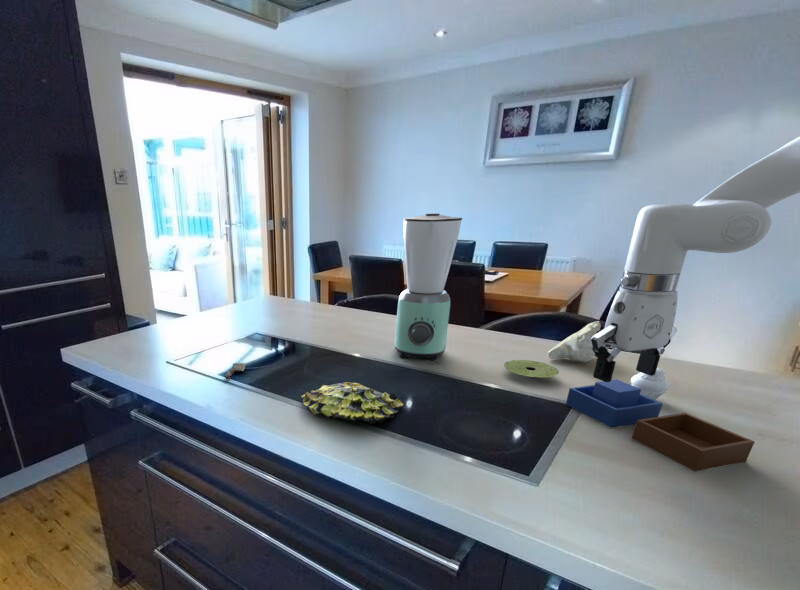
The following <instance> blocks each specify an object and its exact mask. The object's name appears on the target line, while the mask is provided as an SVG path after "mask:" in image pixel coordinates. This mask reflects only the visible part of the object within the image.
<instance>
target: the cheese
mask: <svg viewBox="0 0 800 590" xmlns="http://www.w3.org/2000/svg"><path fill="white" fill-rule="evenodd" d="M600 331H601V322H600V321H599V320H598V321H597V320H596V321H593V322H590V323H587V324H586V325H585V326H583V327H582V328H581V329H580V330H578V331H576V332H575V333H572V334H571V335H569V336H567V337H566V338H565V339H563V340H561V341H560V342H559V343H557V344H556V345H555V346H554V347H552V348H551V349H549V350H548V351H547V353H546V355H547V357H548V359H550V360H554V361H556V360H563V359H564V360H566V359H568V360H576V361H579V362H583V363H587V362H589V361H591V360H594V358H596V357H595V353H594V351H593V350H592V348H593V346H592V342H591V338H592V336H594V335H595V334H597V333H598V332H600Z"/></svg>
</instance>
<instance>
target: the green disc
mask: <svg viewBox="0 0 800 590" xmlns="http://www.w3.org/2000/svg"><path fill="white" fill-rule="evenodd" d="M503 367H504V368H505V370H507V371H509V372H511V373H513V374H516V375H519V376H524V377H528V378H530V377H531V378H553V377H556V376H557V375H559V373H560V371H559V369H558V368H556V367H555V366H552V365H550V364H548V363H546V362H541V361H535V360H528V359H527V360H526V359H514V360H508V361H505V362H504V364H503Z"/></svg>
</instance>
